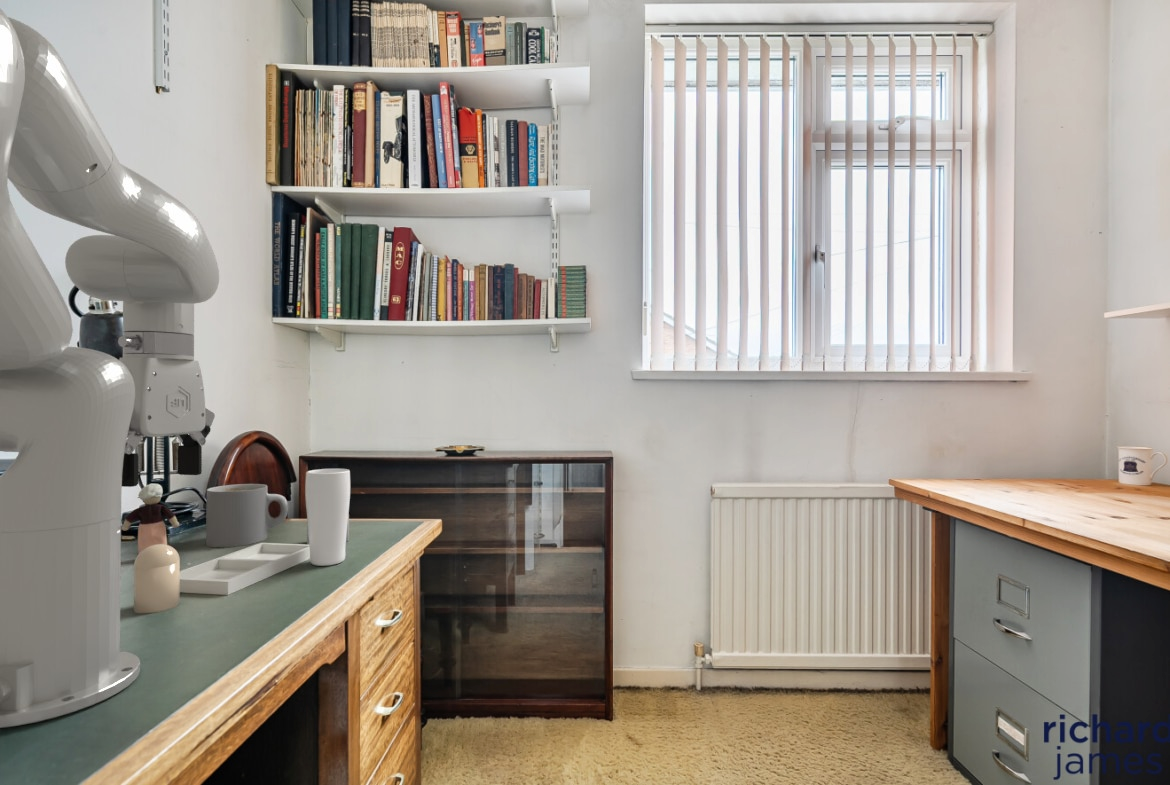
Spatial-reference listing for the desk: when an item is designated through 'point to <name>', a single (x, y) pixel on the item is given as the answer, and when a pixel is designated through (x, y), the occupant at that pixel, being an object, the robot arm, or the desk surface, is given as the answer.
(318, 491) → the drinking glass
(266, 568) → the white divided tray
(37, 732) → the desk surface
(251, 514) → the coffee mug
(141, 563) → the beige domed cylinder
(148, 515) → the grandmother figurine
